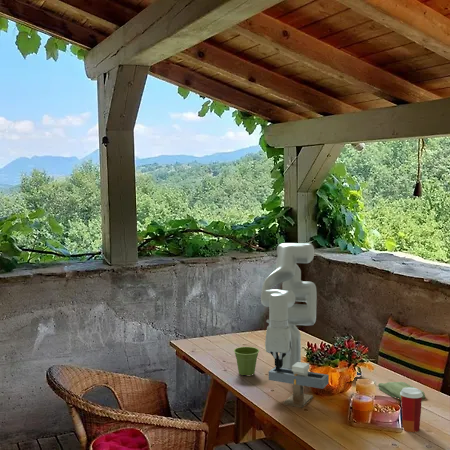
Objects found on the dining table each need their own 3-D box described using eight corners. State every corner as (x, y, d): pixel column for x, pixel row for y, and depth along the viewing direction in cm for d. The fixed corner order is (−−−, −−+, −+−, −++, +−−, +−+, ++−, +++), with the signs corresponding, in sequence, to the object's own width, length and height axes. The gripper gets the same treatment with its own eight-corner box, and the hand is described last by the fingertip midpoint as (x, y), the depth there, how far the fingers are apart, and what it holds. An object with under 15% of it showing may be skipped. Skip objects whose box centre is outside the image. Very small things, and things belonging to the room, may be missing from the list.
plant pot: (229, 376, 264) (229, 352, 263) (240, 368, 274) (240, 345, 273) (252, 380, 258) (252, 355, 258) (263, 372, 269) (263, 348, 268)
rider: (291, 377, 230) (291, 366, 229) (297, 373, 235) (297, 361, 235) (303, 379, 227) (303, 368, 227) (309, 374, 233) (309, 363, 233)
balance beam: (266, 401, 233) (266, 372, 232) (277, 391, 243) (277, 364, 242) (320, 411, 222) (320, 381, 221) (330, 400, 232) (330, 372, 232)
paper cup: (417, 424, 209) (418, 386, 208) (425, 433, 201) (426, 394, 200) (396, 424, 209) (396, 387, 208) (403, 434, 201) (404, 394, 200)
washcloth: (402, 385, 251) (402, 378, 250) (427, 399, 234) (427, 392, 234) (375, 388, 247) (375, 381, 247) (399, 403, 230) (399, 395, 230)
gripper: (258, 323, 235) (258, 367, 236) (292, 327, 228) (292, 373, 229) (265, 319, 241) (265, 362, 243) (299, 323, 234) (299, 367, 236)
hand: (278, 367), depth 236 cm, fingers closed
